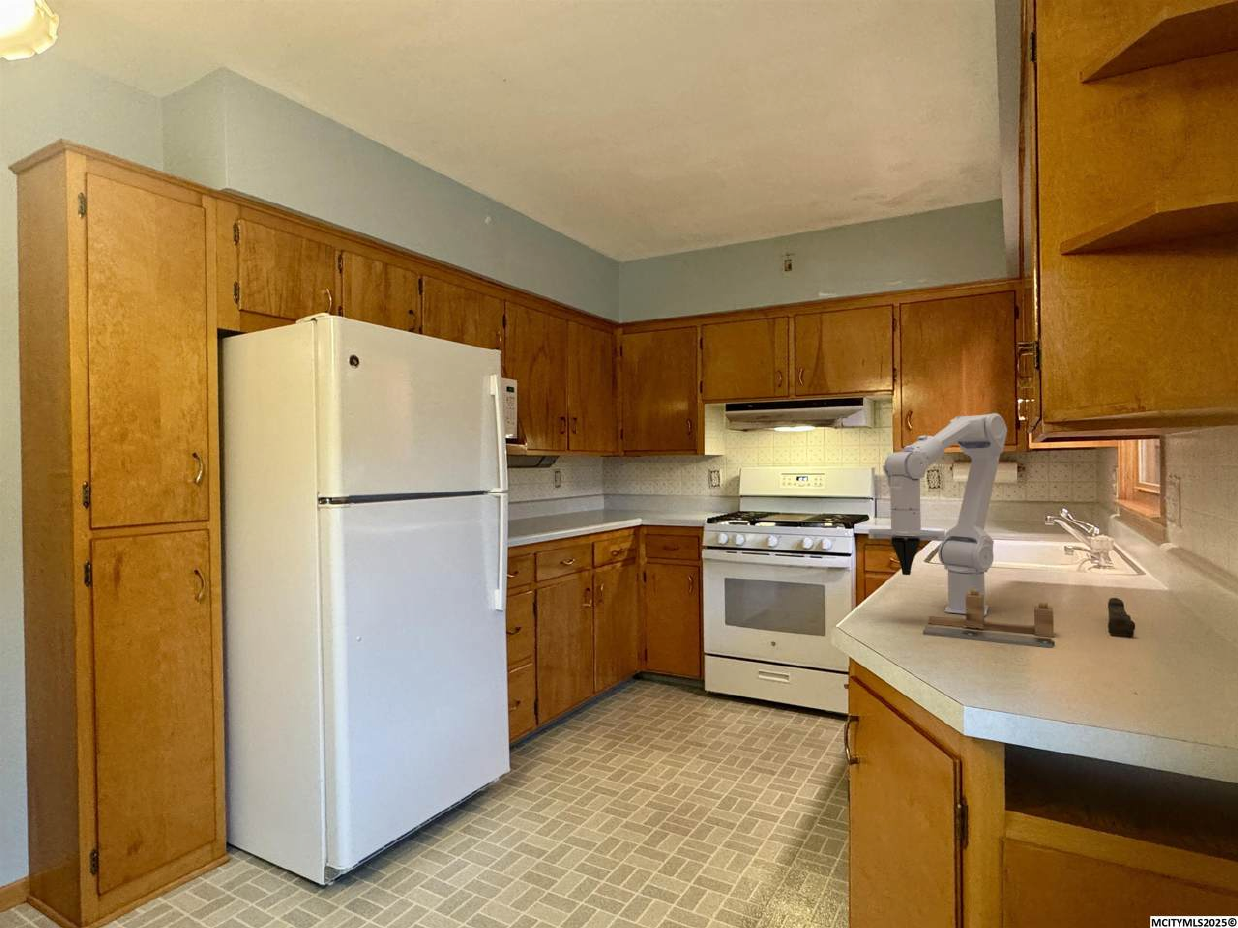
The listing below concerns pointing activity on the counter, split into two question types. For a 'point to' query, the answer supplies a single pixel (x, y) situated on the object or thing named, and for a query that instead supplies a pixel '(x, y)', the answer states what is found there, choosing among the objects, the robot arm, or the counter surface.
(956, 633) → the steel strip
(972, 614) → the sliding head
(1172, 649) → the counter surface
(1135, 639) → the counter surface
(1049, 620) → the bar
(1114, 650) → the counter surface
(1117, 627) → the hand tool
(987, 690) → the counter surface
